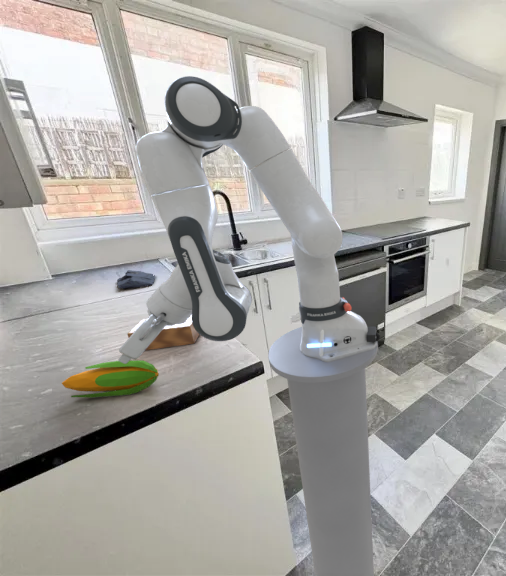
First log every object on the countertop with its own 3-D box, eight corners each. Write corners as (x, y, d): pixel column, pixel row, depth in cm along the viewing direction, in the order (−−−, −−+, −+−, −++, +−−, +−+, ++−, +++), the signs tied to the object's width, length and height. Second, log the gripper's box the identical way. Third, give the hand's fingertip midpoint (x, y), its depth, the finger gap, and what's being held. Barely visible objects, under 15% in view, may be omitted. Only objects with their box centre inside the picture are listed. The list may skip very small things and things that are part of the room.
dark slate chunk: (112, 292, 139) (109, 282, 138) (118, 280, 157) (116, 271, 155) (153, 285, 147) (151, 276, 146) (155, 275, 165) (153, 266, 163)
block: (202, 329, 103) (198, 312, 101) (194, 343, 94) (189, 325, 92) (147, 336, 99) (142, 319, 97) (133, 352, 90) (127, 333, 88)
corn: (143, 367, 68) (40, 377, 66) (151, 397, 70) (51, 408, 68) (161, 352, 76) (68, 360, 73) (167, 379, 78) (78, 388, 75)
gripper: (168, 333, 62) (125, 383, 63) (196, 298, 81) (162, 337, 81) (137, 316, 60) (92, 368, 60) (173, 284, 78) (138, 324, 79)
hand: (133, 349), depth 71 cm, fingers open, 8 cm apart
